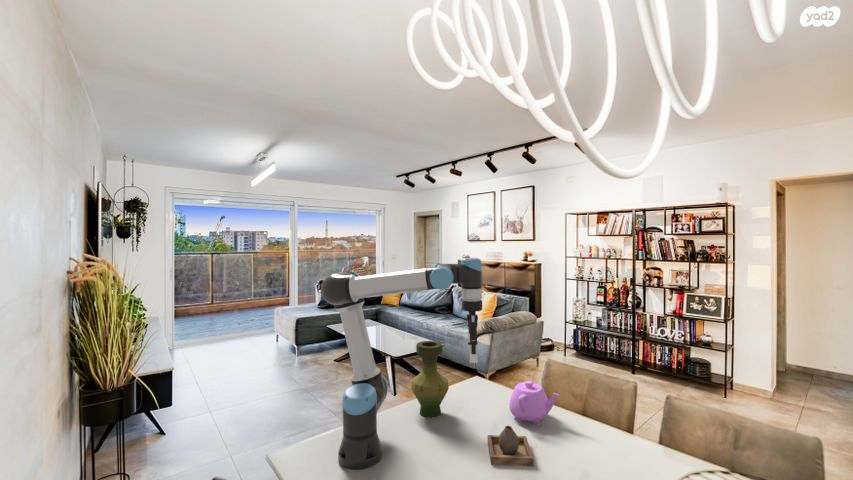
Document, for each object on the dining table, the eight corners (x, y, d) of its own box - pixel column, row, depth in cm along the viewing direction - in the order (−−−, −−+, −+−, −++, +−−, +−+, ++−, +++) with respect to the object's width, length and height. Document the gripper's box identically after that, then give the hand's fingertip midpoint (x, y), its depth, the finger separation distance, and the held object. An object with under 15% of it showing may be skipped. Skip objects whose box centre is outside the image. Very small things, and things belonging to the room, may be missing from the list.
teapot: (551, 437, 142) (551, 397, 142) (501, 424, 153) (500, 387, 153) (563, 416, 159) (562, 380, 159) (516, 405, 170) (516, 372, 170)
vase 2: (519, 459, 128) (518, 433, 128) (498, 456, 129) (498, 431, 129) (518, 447, 134) (518, 423, 134) (498, 446, 136) (498, 421, 136)
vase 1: (454, 409, 167) (454, 341, 167) (439, 425, 153) (438, 351, 153) (422, 402, 174) (421, 337, 174) (404, 417, 160) (403, 346, 160)
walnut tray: (490, 464, 126) (490, 456, 126) (487, 441, 140) (487, 434, 140) (533, 466, 125) (533, 458, 125) (526, 443, 139) (525, 436, 139)
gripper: (484, 305, 127) (485, 368, 127) (480, 294, 152) (481, 347, 152) (462, 305, 128) (463, 367, 128) (461, 294, 153) (462, 346, 153)
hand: (472, 356), depth 140 cm, fingers open, 13 cm apart
